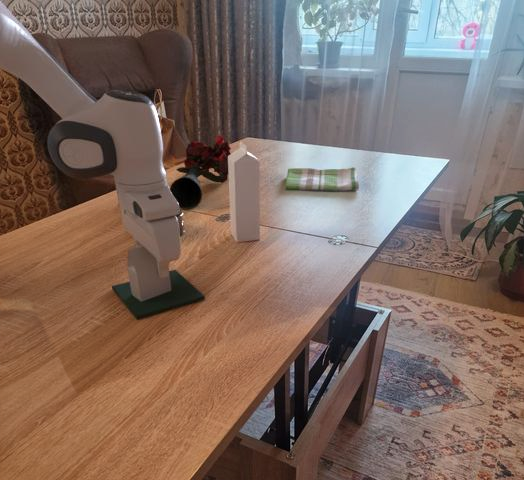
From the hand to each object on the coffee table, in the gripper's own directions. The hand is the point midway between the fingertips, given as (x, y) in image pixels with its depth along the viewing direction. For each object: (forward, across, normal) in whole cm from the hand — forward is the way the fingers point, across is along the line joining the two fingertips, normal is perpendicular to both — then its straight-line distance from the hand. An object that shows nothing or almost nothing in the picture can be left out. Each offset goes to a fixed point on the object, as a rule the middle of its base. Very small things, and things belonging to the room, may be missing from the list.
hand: (153, 266), depth 93 cm
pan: (+6, -30, +13) cm, 33 cm away
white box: (+6, 0, -1) cm, 6 cm away
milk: (+6, -16, +30) cm, 35 cm away
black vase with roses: (+6, -55, +38) cm, 67 cm away
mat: (+6, 0, 0) cm, 6 cm away
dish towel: (+6, -41, +74) cm, 85 cm away
